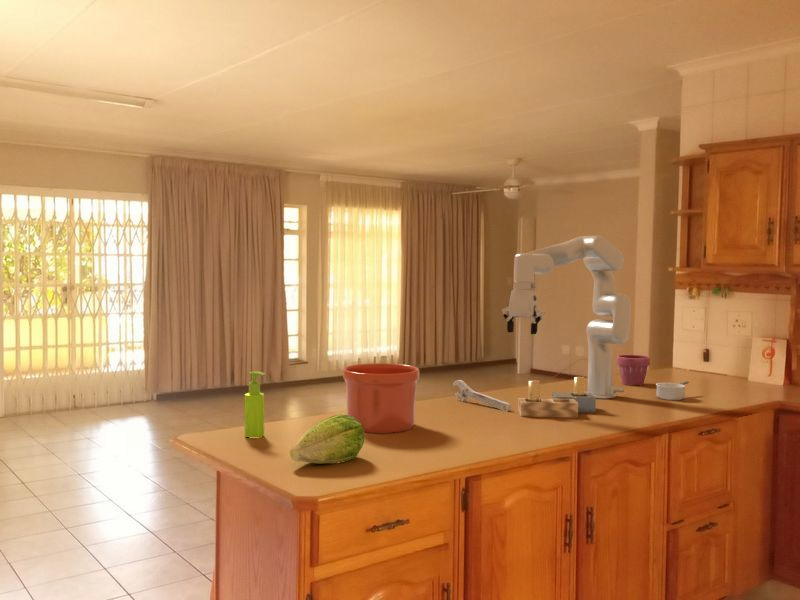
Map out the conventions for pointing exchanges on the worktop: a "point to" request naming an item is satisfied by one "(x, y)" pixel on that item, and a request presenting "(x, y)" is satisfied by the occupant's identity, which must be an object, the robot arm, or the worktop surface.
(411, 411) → the pot
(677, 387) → the saucepan
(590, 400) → the socket block
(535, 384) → the amber rod
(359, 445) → the green papaya
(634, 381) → the plant pot
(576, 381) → the gold cylinder
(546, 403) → the rack
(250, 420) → the soap dispenser
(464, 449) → the worktop surface
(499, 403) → the wrench
